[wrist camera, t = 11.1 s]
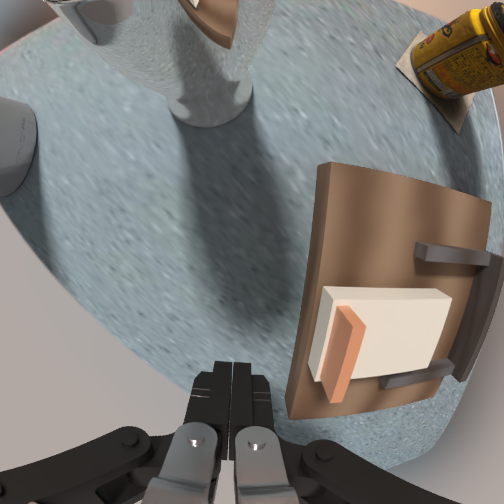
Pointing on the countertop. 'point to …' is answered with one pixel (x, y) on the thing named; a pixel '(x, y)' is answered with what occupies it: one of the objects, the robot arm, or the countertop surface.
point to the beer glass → (178, 48)
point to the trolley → (374, 333)
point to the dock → (395, 277)
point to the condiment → (458, 61)
